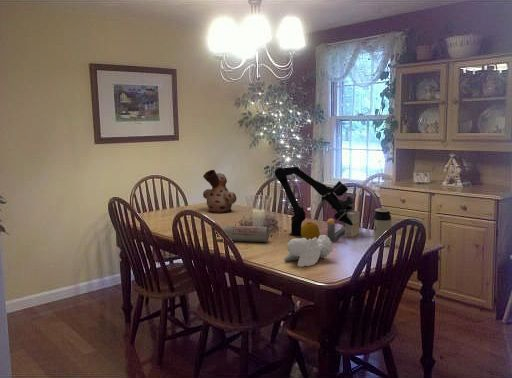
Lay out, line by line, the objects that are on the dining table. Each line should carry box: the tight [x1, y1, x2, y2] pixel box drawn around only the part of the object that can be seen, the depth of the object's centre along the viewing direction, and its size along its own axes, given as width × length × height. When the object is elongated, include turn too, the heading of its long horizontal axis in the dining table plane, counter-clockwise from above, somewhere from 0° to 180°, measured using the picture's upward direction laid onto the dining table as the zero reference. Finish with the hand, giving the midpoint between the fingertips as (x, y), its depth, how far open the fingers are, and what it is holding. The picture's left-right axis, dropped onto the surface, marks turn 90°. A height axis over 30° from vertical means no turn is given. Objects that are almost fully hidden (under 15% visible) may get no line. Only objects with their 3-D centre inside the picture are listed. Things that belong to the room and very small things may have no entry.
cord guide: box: [326, 218, 345, 243], centre depth 266 cm, size 34×4×12 cm, turn 154°
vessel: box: [202, 169, 238, 214], centre depth 337 cm, size 29×22×30 cm
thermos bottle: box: [215, 225, 270, 243], centre depth 258 cm, size 8×8×28 cm
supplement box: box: [344, 210, 360, 238], centre depth 263 cm, size 8×5×13 cm, turn 141°
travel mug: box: [373, 207, 392, 247], centre depth 243 cm, size 8×8×18 cm
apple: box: [300, 221, 321, 240], centre depth 248 cm, size 10×10×12 cm
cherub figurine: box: [283, 234, 333, 268], centre depth 218 cm, size 13×12×20 cm
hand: (354, 223), depth 262 cm, fingers open, 9 cm apart
